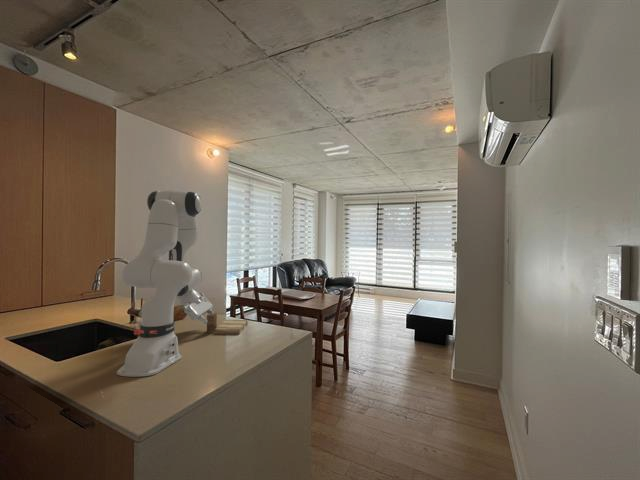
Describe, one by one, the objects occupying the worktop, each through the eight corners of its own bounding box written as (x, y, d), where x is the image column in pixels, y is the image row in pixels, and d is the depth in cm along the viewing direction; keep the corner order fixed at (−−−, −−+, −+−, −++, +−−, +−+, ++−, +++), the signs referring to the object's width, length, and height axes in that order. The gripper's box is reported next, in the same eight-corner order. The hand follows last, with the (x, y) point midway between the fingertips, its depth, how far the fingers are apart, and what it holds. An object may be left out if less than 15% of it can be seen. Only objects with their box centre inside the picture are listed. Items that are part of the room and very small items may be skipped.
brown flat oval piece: (161, 324, 160) (161, 308, 160) (159, 323, 162) (159, 308, 162) (188, 318, 172) (188, 304, 172) (185, 317, 174) (185, 303, 174)
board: (239, 334, 145) (239, 329, 145) (215, 333, 145) (215, 328, 145) (247, 324, 161) (247, 320, 161) (226, 324, 161) (226, 319, 161)
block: (213, 333, 146) (214, 315, 146) (206, 332, 146) (206, 315, 146) (216, 330, 150) (216, 313, 149) (209, 330, 150) (209, 313, 149)
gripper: (186, 300, 137) (207, 321, 138) (203, 292, 158) (221, 310, 158) (177, 310, 137) (197, 330, 138) (195, 300, 158) (213, 318, 158)
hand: (210, 319), depth 148 cm, fingers open, 8 cm apart
